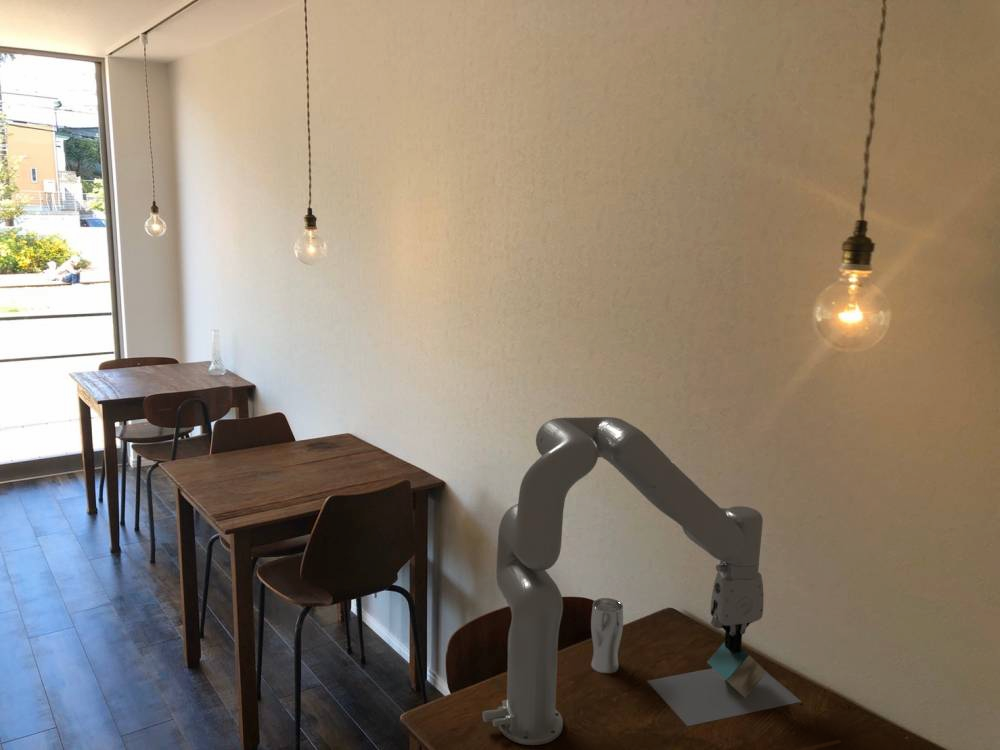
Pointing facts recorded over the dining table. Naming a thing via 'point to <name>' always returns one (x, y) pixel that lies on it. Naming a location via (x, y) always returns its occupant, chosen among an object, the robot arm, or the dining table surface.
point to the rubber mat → (717, 696)
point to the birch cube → (737, 669)
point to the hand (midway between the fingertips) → (732, 649)
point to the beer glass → (606, 634)
